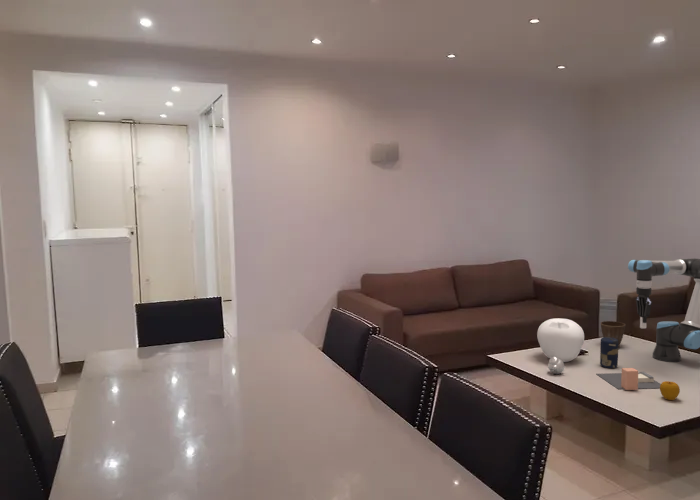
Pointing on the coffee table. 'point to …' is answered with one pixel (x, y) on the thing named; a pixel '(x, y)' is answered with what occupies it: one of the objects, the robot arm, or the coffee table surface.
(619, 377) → the slate mat
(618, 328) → the plant pot
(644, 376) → the ticket booklet
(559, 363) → the silver round lump
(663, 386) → the apple
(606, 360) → the canister
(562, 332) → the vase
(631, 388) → the pink upright block
